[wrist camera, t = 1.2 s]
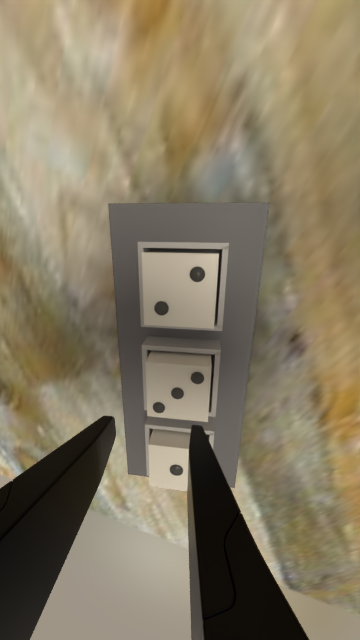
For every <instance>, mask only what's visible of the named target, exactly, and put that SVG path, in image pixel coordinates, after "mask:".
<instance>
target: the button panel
mask: <svg viewBox="0 0 360 640" xmlns="http://www.w3.org/2000/svg"><path fill="white" fill-rule="evenodd" d="M269 204H270V203H129V204H108V205H109V219H110V233H111V246H112V260H113V274H114V287H115V301H116V315H117V328H118V342H119V356H120V369H121V383H122V397H123V410H124V424H125V438H126V451H127V465H128V474H131V475H139V476H147V477H149V451H148V444H149V440H150V437H151V434H152V431H153V429H160V430H170V431H179V432H189V433H191V426H192V425H201V426H202V427H203V429H204V431H205V433H206V435H207V437H208V440H209V442H210V444H211V446H212V449H213V451H214V453H215V455H216V457H217V460H218V462H219V464H220V466H221V469H222V471H223V473H224V475H225V478H226V480H227V482H228V484H229V486H230V487H233V488H235V481H236V472H237V464H238V456H239V448H240V440H241V432H242V424H243V415H244V407H245V399H246V391H247V383H248V375H249V366H250V358H251V350H252V342H253V334H254V326H255V318H256V309H257V301H258V293H259V285H260V277H261V269H262V261H263V252H264V244H265V236H266V228H267V220H268V212H269ZM142 252H172V253H218V254H219V260H218V276H217V291H216V306H215V322H214V329H212V328H193V327H175V326H156V325H144V308H143V279H142ZM151 351H162V352H177V353H192V354H207V355H211V365H212V368H211V383H210V398H209V414H208V422H202V421H192V420H181V419H171V418H161V417H151V416H147V394H146V365H145V362H146V360H147V358H148V356H149V355H150V353H151Z"/></svg>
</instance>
